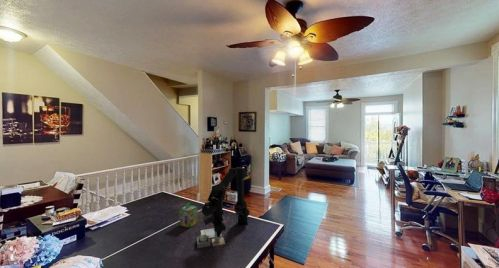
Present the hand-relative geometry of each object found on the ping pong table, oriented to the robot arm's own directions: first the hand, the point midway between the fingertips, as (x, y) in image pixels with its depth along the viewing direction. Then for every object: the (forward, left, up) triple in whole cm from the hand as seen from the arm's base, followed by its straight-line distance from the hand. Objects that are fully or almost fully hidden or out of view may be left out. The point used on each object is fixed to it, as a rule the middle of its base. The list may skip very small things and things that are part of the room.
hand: (217, 235), depth 119 cm
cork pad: (0, +1, -4) cm, 4 cm away
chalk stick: (0, 0, -2) cm, 2 cm away
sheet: (+3, -10, -4) cm, 11 cm away
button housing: (+8, 0, -4) cm, 9 cm away
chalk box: (+16, -27, -4) cm, 32 cm away
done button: (+8, 0, -2) cm, 9 cm away
